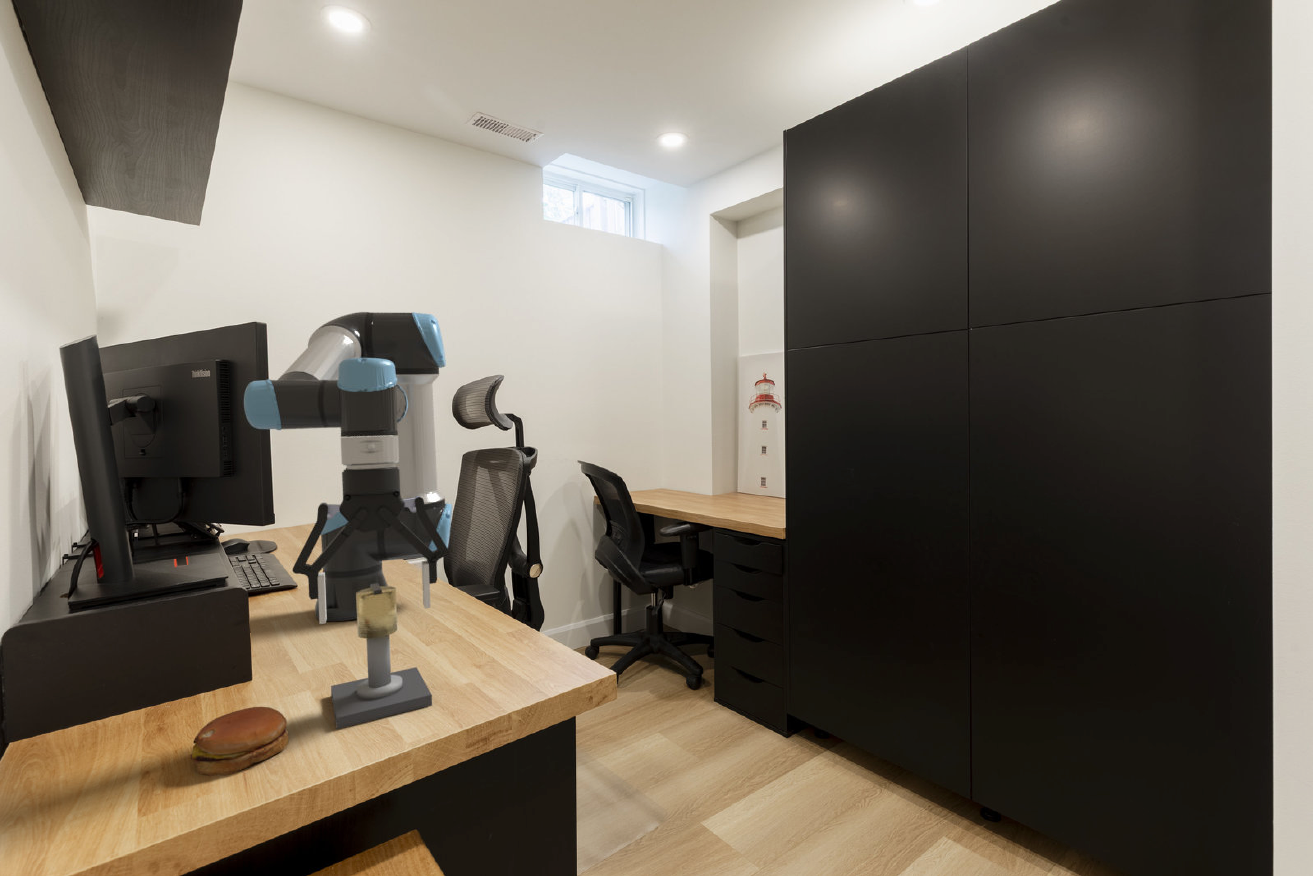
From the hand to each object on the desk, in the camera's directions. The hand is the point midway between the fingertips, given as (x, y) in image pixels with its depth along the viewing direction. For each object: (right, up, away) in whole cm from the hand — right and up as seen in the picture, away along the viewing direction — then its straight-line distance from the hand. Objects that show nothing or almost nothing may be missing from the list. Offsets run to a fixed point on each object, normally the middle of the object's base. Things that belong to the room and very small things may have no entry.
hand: (376, 613), depth 88 cm
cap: (0, -3, 0) cm, 3 cm away
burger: (-11, -14, -13) cm, 22 cm away
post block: (0, -13, +1) cm, 13 cm away
